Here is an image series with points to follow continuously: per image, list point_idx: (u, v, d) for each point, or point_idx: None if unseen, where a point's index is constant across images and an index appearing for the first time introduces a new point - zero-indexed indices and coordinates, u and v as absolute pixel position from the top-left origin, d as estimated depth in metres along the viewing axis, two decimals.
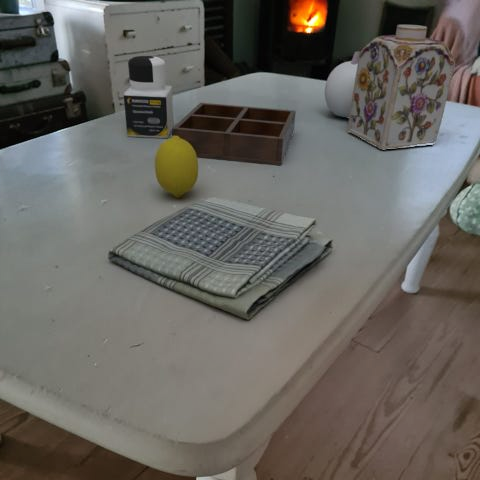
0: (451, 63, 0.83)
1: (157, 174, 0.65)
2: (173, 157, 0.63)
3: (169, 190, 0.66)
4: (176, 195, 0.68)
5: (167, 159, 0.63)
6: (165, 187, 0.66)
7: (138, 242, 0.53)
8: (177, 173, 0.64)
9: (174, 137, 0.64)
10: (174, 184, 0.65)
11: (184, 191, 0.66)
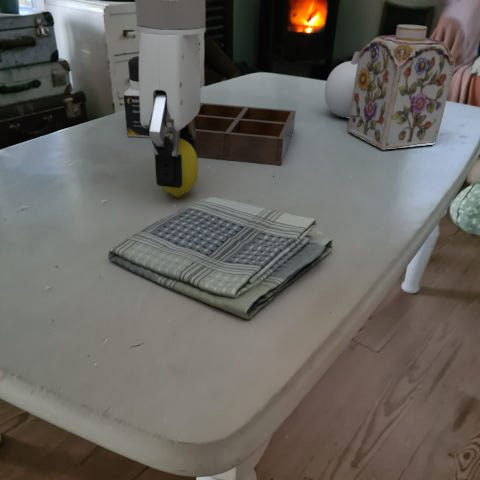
0: (451, 63, 0.83)
1: None
2: None
3: (169, 190, 0.66)
4: (176, 195, 0.68)
5: None
6: (165, 187, 0.66)
7: (138, 242, 0.53)
8: None
9: None
10: None
11: (184, 191, 0.66)
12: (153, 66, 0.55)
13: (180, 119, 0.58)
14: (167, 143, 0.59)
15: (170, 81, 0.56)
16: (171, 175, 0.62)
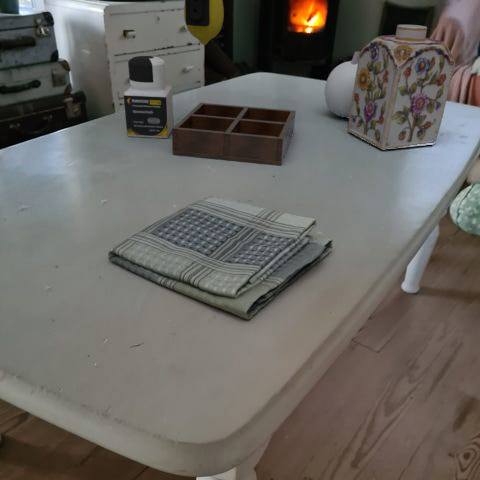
0: (451, 63, 0.83)
1: None
2: None
3: (197, 33, 0.72)
4: (203, 41, 0.73)
5: None
6: (193, 29, 0.71)
7: (138, 242, 0.53)
8: None
9: None
10: None
11: (211, 34, 0.72)
12: None
13: None
14: None
15: None
16: (200, 11, 0.68)
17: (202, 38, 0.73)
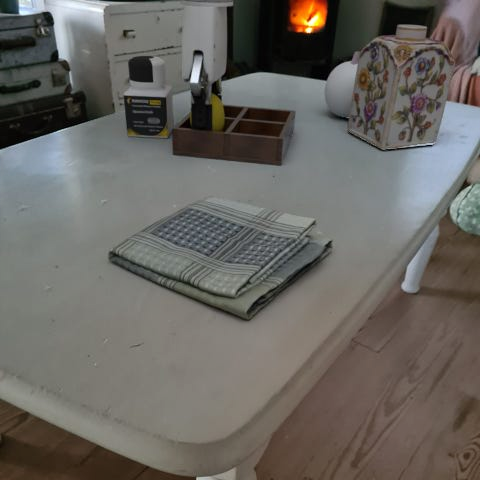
0: (451, 63, 0.83)
1: None
2: None
3: None
4: None
5: None
6: None
7: (138, 242, 0.53)
8: None
9: None
10: None
11: None
12: (194, 31, 0.71)
13: (213, 74, 0.74)
14: (202, 93, 0.75)
15: (206, 43, 0.72)
16: (204, 120, 0.79)
17: None
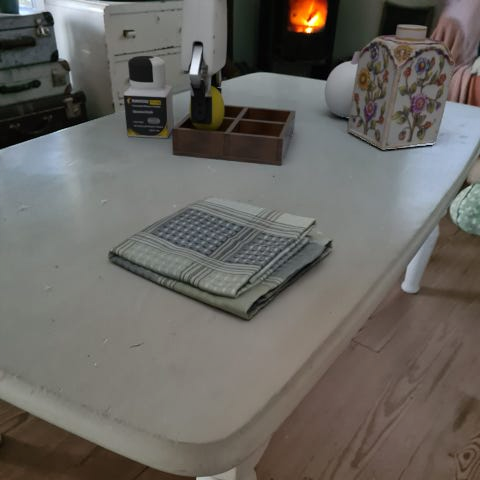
0: (451, 63, 0.83)
1: None
2: None
3: (201, 128, 0.81)
4: None
5: None
6: (198, 125, 0.81)
7: (138, 242, 0.53)
8: None
9: None
10: None
11: (213, 129, 0.82)
12: (193, 21, 0.71)
13: (213, 66, 0.74)
14: (202, 85, 0.74)
15: (206, 34, 0.71)
16: (204, 113, 0.78)
17: None
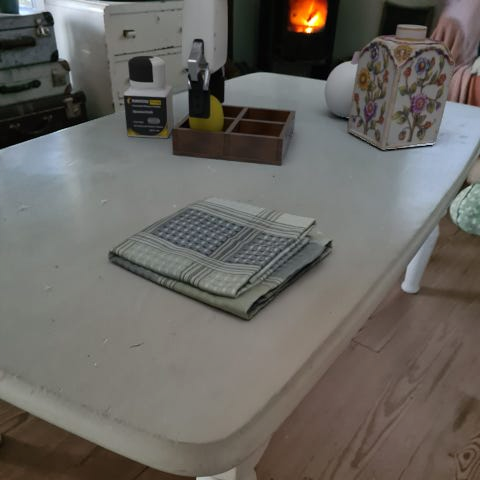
0: (451, 63, 0.83)
1: (191, 123, 0.81)
2: None
3: None
4: None
5: None
6: None
7: (138, 242, 0.53)
8: (207, 121, 0.80)
9: None
10: None
11: None
12: (194, 19, 0.70)
13: (213, 63, 0.74)
14: (200, 77, 0.72)
15: (207, 31, 0.71)
16: (202, 106, 0.76)
17: None
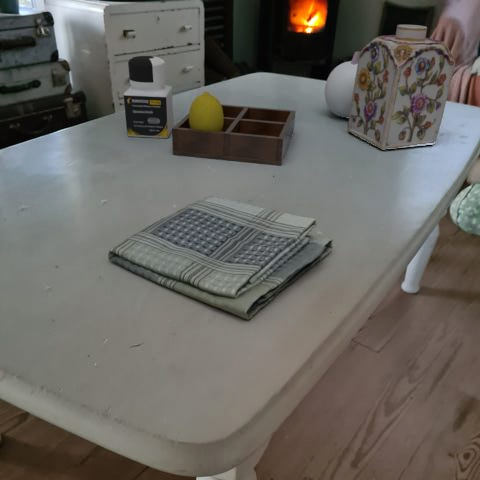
0: (451, 63, 0.83)
1: (191, 123, 0.81)
2: (204, 108, 0.79)
3: None
4: None
5: (200, 110, 0.80)
6: None
7: (138, 242, 0.53)
8: (207, 121, 0.80)
9: (205, 93, 0.80)
10: None
11: None
12: None
13: None
14: None
15: None
16: None
17: None
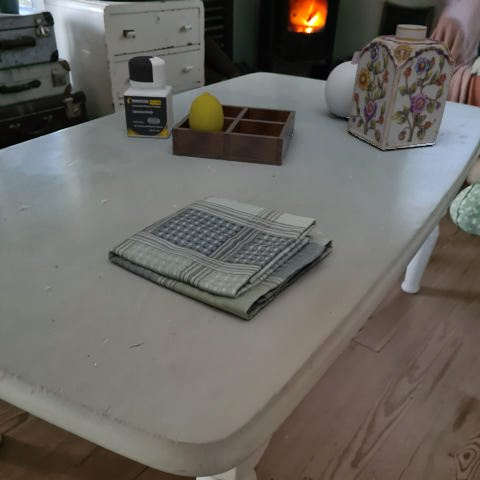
0: (451, 63, 0.83)
1: (191, 123, 0.81)
2: (204, 108, 0.79)
3: None
4: None
5: (200, 110, 0.80)
6: None
7: (138, 242, 0.53)
8: (207, 121, 0.80)
9: (205, 93, 0.80)
10: None
11: None
12: None
13: None
14: None
15: None
16: None
17: None
